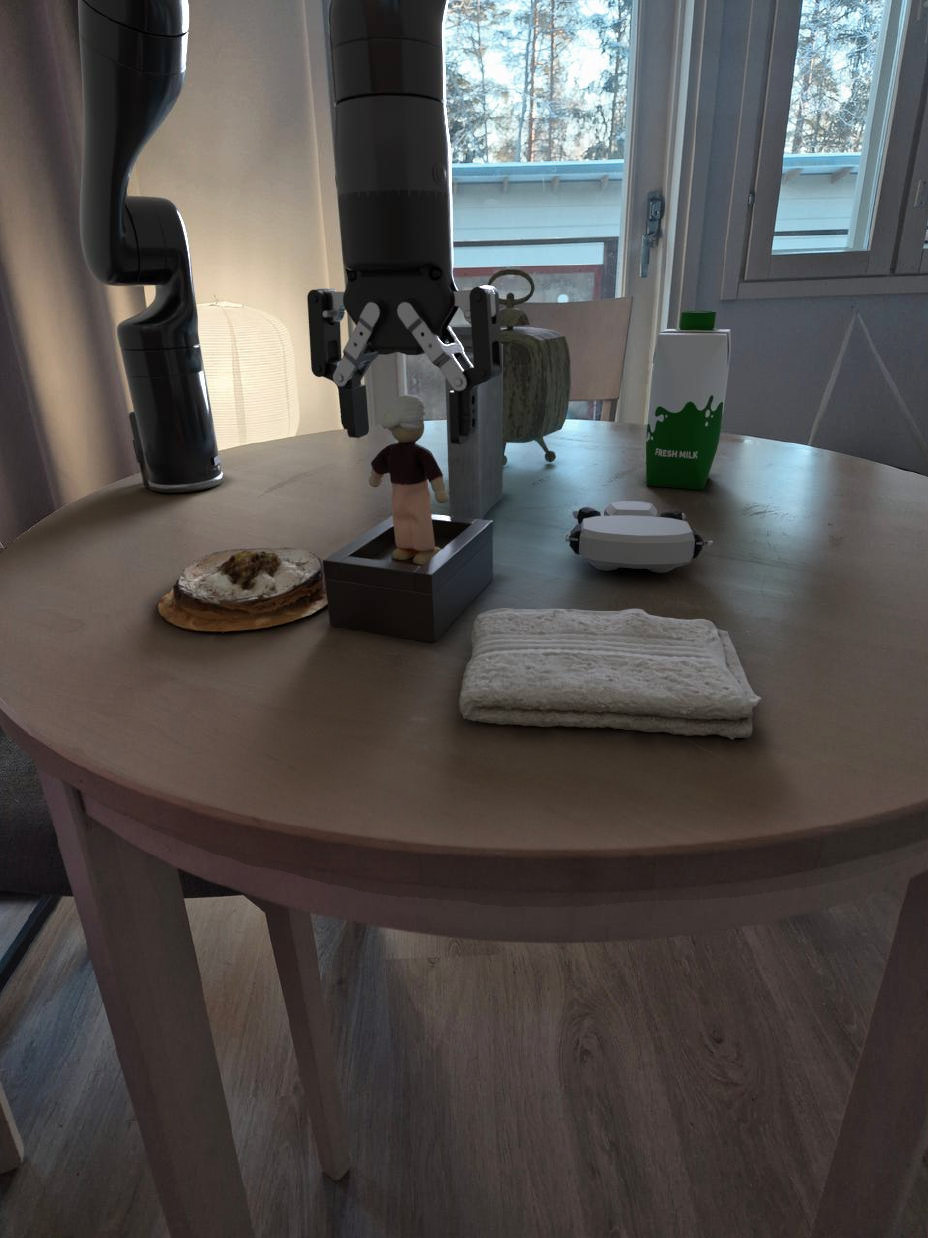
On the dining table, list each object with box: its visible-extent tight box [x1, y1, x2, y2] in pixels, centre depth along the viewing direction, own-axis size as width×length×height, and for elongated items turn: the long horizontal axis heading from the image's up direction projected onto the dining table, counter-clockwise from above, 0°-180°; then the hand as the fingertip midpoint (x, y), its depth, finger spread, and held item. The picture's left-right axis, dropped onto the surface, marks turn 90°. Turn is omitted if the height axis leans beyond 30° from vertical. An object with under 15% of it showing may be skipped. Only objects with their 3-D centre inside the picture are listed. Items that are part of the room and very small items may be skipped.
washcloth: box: [458, 607, 763, 741], centre depth 47 cm, size 12×18×3 cm, turn 84°
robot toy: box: [565, 500, 714, 574], centre depth 67 cm, size 12×4×15 cm
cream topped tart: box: [157, 546, 328, 632], centre depth 61 cm, size 15×15×4 cm
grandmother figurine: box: [368, 393, 449, 565], centre depth 56 cm, size 8×4×13 cm, turn 65°
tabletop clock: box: [486, 268, 572, 467], centre depth 97 cm, size 14×9×25 cm, turn 58°
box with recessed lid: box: [322, 513, 494, 644], centre depth 59 cm, size 9×13×6 cm
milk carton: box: [645, 310, 732, 491], centre depth 88 cm, size 9×9×20 cm
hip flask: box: [444, 323, 504, 520], centre depth 77 cm, size 16×4×20 cm, turn 167°
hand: (408, 438), depth 54 cm, fingers open, 8 cm apart
